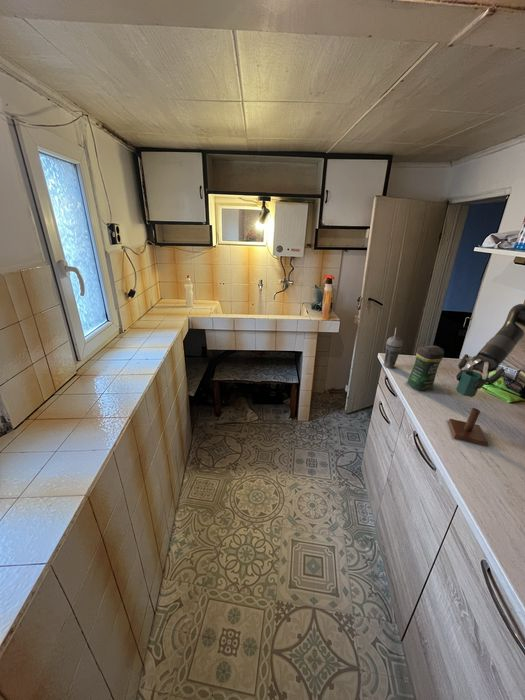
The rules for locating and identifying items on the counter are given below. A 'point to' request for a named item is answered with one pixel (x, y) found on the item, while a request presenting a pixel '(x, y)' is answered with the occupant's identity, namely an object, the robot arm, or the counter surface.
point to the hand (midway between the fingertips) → (466, 383)
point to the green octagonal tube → (468, 383)
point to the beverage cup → (392, 350)
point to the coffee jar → (425, 367)
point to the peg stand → (468, 429)
